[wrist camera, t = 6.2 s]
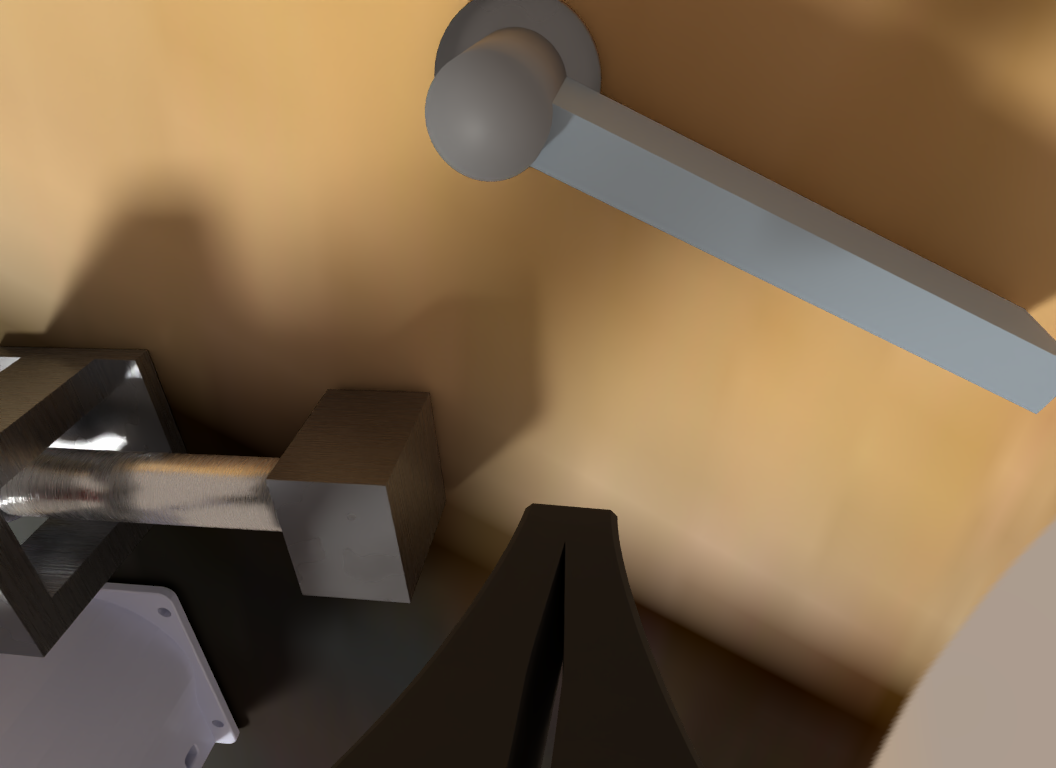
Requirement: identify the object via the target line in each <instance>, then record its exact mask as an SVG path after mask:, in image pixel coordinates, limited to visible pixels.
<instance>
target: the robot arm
mask: <svg viewBox="0 0 1056 768" xmlns="http://www.w3.org/2000/svg"><path fill="white" fill-rule="evenodd" d="M562 661H563V680H562V688H561V696H560V703H559V711H558V719H557V726H556V734H555V742H554V749H553V756H552V764H551V768H704V766H703V764H702V762H701V760H700V758H699V756H698V754H697V753H696V751H695V749H694V747H693V745H692V743H691V741H690V738H689V736H688V734H687V732H686V730H685V728H684V726H683V724H682V722H681V720H680V718H679V715H678V713H677V711H676V709H675V707H674V704H673V702H672V700H671V698H670V695H669V693H668V691H667V688H666V686H665V684H664V681H663V679H662V676H661V674H660V671H659V669H658V666H657V664H656V661H655V659H654V656H653V654H652V651H651V649H650V646H649V643H648V641H647V638H646V635H645V632H644V629H643V626H642V623H641V620H640V617H639V614H638V611H637V608H636V605H635V602H634V599H633V596H632V592H631V589H630V585H629V582H628V578H627V574H626V570H625V566H624V562H623V557H622V553H621V548H620V541H619V534H618V524H617V516H616V515H615V514H614V513H613V512H612V511H611V510H604V509H592V508H581V507H569V506H557V505H545V504H534V503H533V504H531V505H530V506H528V507H527V508H526V509H525V511H524V514H523V516H522V518H521V521H520V523H519V525H518V527H517V529H516V531H515V533H514V535H513V537H512V539H511V540H510V542H509V544H508V546H507V548H506V549H505V551H504V553H503V555H502V556H501V558H500V560H499V561H498V563H497V565H496V567H495V568H494V570H493V571H492V573H491V574H490V576H489V578H488V579H487V581H486V582H485V584H484V585H483V587H482V588H481V590H480V591H479V593H478V595H477V596H476V598H475V599H474V601H473V602H472V604H471V605H470V607H469V608H468V610H467V611H466V612H465V614H464V615H463V616H462V618H461V619H460V621H459V622H458V623H457V625H456V626H455V627H454V629H453V630H452V631H451V633H450V634H449V635H448V637H447V638H446V639H445V641H444V642H443V644H442V645H441V646H440V648H439V649H438V650H437V652H436V653H435V654H434V655H433V657H432V658H431V659H430V660H429V662H428V663H427V664H426V665H425V667H424V668H423V669H422V670H421V671H420V673H419V674H418V675H417V676H416V677H415V679H414V680H413V681H412V682H411V683H410V684H409V686H408V687H407V688H406V689H405V690H404V691H403V693H402V694H401V695H400V696H399V697H398V698H397V699H396V701H395V702H394V703H393V704H392V705H391V706H390V707H389V708H388V709H387V710H386V712H385V713H384V714H383V715H382V716H381V717H380V718H379V719H378V720H377V721H376V722H375V723H374V724H373V725H372V726H371V727H370V728H369V729H368V731H367V732H366V733H365V734H364V735H363V736H362V737H361V738H360V739H359V740H358V741H357V742H356V743H355V744H354V745H353V746H352V747H351V748H350V749H349V750H348V751H347V752H346V753H345V754H344V755H343V756H342V757H341V758H340V759H339V760H338V761H337V762H336V763H335V764H334V765H333V766H332V767H331V768H541V765H542V760H543V755H544V750H545V746H546V741H547V736H548V731H549V726H550V721H551V716H552V711H553V706H554V701H555V696H556V691H557V686H558V681H559V676H560V671H561V666H562ZM238 735H239V730H238V728H237V726H236V723H235V721H234V719H233V717H232V715H231V712H230V710H229V708H228V706H227V704H226V702H225V699H224V697H223V695H222V693H221V691H220V688H219V686H218V684H217V682H216V680H215V678H214V675H213V673H212V671H211V669H210V667H209V664H208V662H207V660H206V658H205V656H204V654H203V651H202V649H201V647H200V645H199V643H198V640H197V638H196V636H195V634H194V632H193V630H192V627H191V625H190V623H189V621H188V619H187V616H186V614H185V612H184V610H183V608H182V606H181V603H180V601H179V599H178V597H177V595H176V594H175V592H173V591H172V590H171V589H169V588H167V587H161V586H148V585H135V584H122V583H109V582H106V583H105V584H104V586H103V587H102V588H101V589H100V590H99V592H98V593H97V594H96V595H95V597H94V598H93V599H92V600H91V601H90V603H89V604H88V605H87V606H86V607H85V609H84V610H83V611H82V612H81V613H80V615H79V616H78V617H77V618H76V619H75V621H74V622H73V623H72V624H71V626H70V627H69V628H68V629H67V630H66V632H65V633H64V634H63V635H62V636H61V638H60V639H59V640H58V641H57V642H56V644H55V645H54V646H53V647H52V649H51V650H50V651H49V652H48V653H47V655H46V656H45V657H44V658H43V657H33V656H22V655H12V654H1V653H0V768H202V766H203V764H204V762H205V760H206V758H207V757H208V755H209V753H210V751H211V749H212V747H213V745H214V743H215V742H217V743H226V744H231V743H234V742H235V741H236V739H237V737H238Z"/></svg>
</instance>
